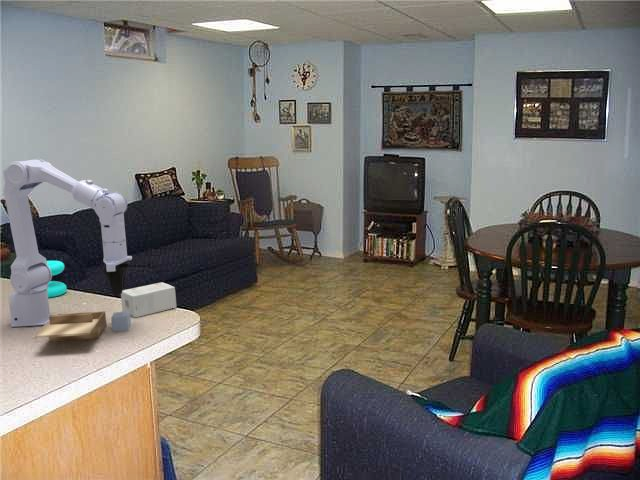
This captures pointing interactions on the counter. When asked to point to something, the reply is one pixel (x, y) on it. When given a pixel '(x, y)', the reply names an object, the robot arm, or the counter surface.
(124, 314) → the block
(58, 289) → the donuts
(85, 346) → the counter surface
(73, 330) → the lid
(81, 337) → the wooden box
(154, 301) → the small box
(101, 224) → the robot arm
